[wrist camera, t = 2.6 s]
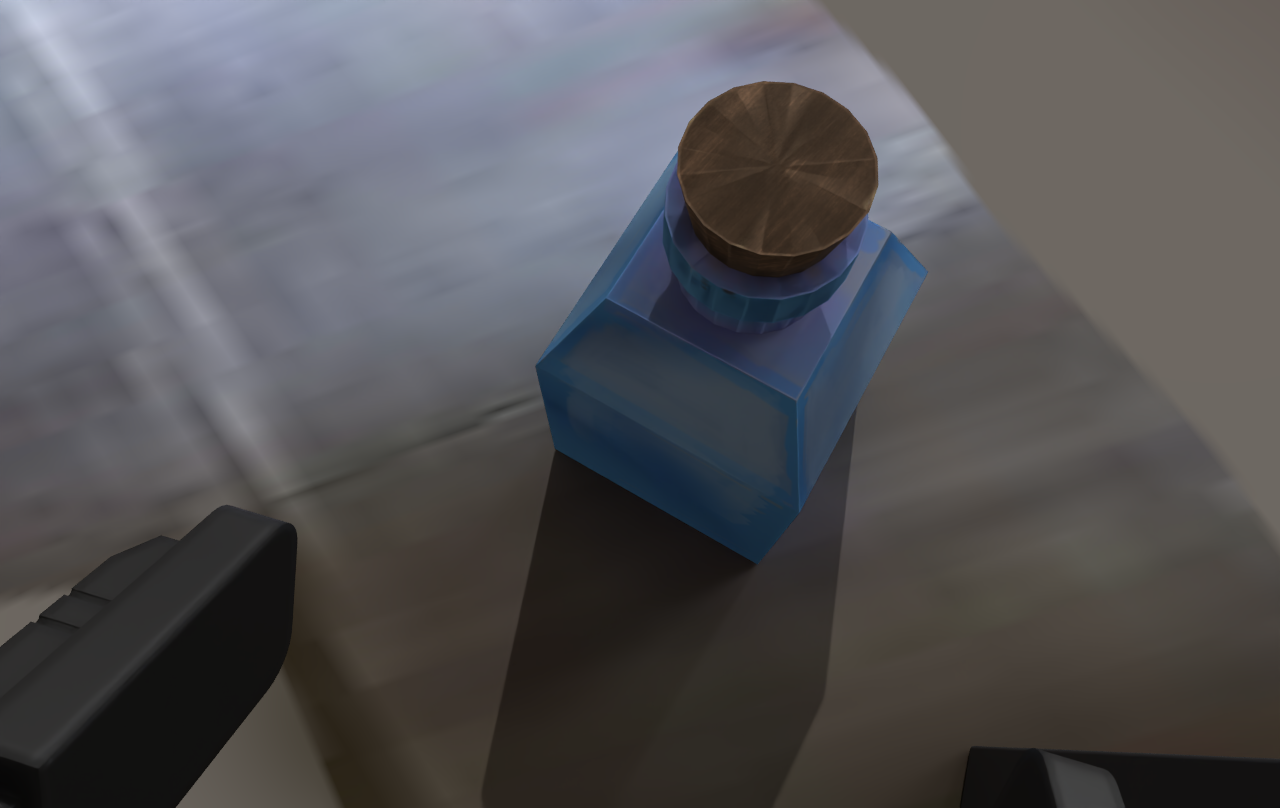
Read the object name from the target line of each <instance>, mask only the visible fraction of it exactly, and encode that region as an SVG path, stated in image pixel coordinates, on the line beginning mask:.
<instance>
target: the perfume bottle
mask: <svg viewBox="0 0 1280 808" xmlns="http://www.w3.org/2000/svg"><path fill="white" fill-rule="evenodd" d="M877 188H878V161H877V156H876V153H875V151H874V148H873V146H872V143H871V141H870V138H869V136H868V133H867V131H866V130H865V129H864V128H863V126H862V125H861V124H860V123H859V122H858V120H857V119H856V118H855V117H854V116H853V115H852V113H851V112H850V111H849V110H848V109H847V108H845V107H844V106H842V105H841V104H839V103H838V102H836V101H835V100H833V99H832V98H830V97H829V96H827V95H826V94H824V93H822V92H819V91H816V90H813V89H810V88H807V87H804V86H801V85H798V84H795V83H784V82H766V81H762V82H758V83H753V84H748V85H744V86H739V87H734V88H732V89H730V90H728V91H727V92H725V93H723V94H721V95H719V96H717V97H716V98H714V99H712V100H710V101H708V102H707V103H706V104H705V105H704V107H703V108H702V109H701V110H700V111H699V112H698V113H697V114H696V115H695V116H694V117H693V118H692V119H691V120H690V121H689V123H688V126H687V128H686V130H685V132H684V135H683V137H682V139H681V142H680V144H679V146H678V151H677V153H676V154H675V156H674V157H673V159H672V160H671V162H670V163H669V165H668V166H667V168H666V170H665V171H664V173H663V174H662V176H661V177H660V179H659V180H658V182H657V183H656V185H655V186H654V188H653V189H652V191H651V192H650V194H649V195H648V197H647V198H646V200H645V201H644V203H643V204H642V206H641V207H640V209H639V210H638V212H637V213H636V215H635V216H634V218H633V219H632V221H631V222H630V224H629V225H628V227H627V228H626V230H625V231H624V233H623V234H622V236H621V237H620V239H619V240H618V242H617V243H616V245H615V246H614V248H613V250H612V251H611V253H610V254H609V256H608V257H607V259H606V260H605V262H604V263H603V265H602V266H601V268H600V269H599V271H598V272H597V274H596V275H595V277H594V278H593V280H592V281H591V283H590V284H589V286H588V287H587V289H586V290H585V292H584V293H583V295H582V296H581V298H580V299H579V301H578V302H577V304H576V305H575V307H574V308H573V310H572V311H571V313H570V314H569V316H568V317H567V319H566V320H565V322H564V323H563V325H562V326H561V328H560V330H559V331H558V333H557V334H556V336H555V337H554V339H553V340H552V342H551V343H550V345H549V346H548V348H547V349H546V351H545V352H544V354H543V355H542V357H541V358H540V360H539V361H538V363H537V364H536V371H537V375H538V379H539V383H540V388H541V392H542V396H543V400H544V404H545V409H546V413H547V417H548V421H549V426H550V430H551V434H552V438H553V442H554V447H555V449H556V450H558V451H560V452H562V453H563V454H565V455H567V456H569V457H570V458H572V459H574V460H576V461H577V462H579V463H581V464H583V465H584V466H586V467H588V468H590V469H591V470H593V471H595V472H597V473H598V474H600V475H602V476H604V477H605V478H607V479H609V480H611V481H612V482H614V483H616V484H618V485H619V486H621V487H623V488H625V489H626V490H628V491H630V492H632V493H633V494H635V495H637V496H639V497H640V498H642V499H644V500H646V501H647V502H649V503H651V504H653V505H654V506H656V507H658V508H660V509H661V510H663V511H665V512H667V513H668V514H670V515H672V516H674V517H675V518H677V519H679V520H681V521H682V522H684V523H686V524H688V525H689V526H691V527H693V528H695V529H696V530H698V531H700V532H702V533H703V534H705V535H707V536H709V537H710V538H712V539H714V540H716V541H717V542H719V543H721V544H723V545H724V546H726V547H728V548H730V549H731V550H733V551H735V552H737V553H738V554H740V555H742V556H744V557H745V558H747V559H749V560H751V561H752V562H754V563H756V564H758V563H759V562H760V561H761V560H762V558H763V557H764V556H765V555H766V554H767V552H768V551H769V550H770V549H771V547H772V546H773V545H774V544H775V542H776V541H777V540H778V539H779V537H780V536H781V535H782V534H783V533H784V531H785V530H786V529H787V528H788V526H789V525H790V524H791V523H792V521H793V520H794V519H795V518H796V517H797V515H798V514H799V513H800V511H801V509H802V507H803V505H804V503H805V501H806V500H807V498H808V496H809V494H810V492H811V490H812V488H813V486H814V485H815V483H816V481H817V479H818V477H819V475H820V473H821V471H822V470H823V468H824V466H825V464H826V462H827V460H828V458H829V457H830V455H831V453H832V451H833V449H834V447H835V445H836V443H837V442H838V440H839V438H840V436H841V434H842V432H843V430H844V428H845V427H846V425H847V423H848V421H849V419H850V417H851V415H852V413H853V412H854V410H855V408H856V406H857V404H858V402H859V400H860V398H861V397H862V395H863V393H864V391H865V389H866V387H867V385H868V384H869V382H870V380H871V378H872V376H873V374H874V372H875V370H876V369H877V367H878V365H879V363H880V361H881V359H882V357H883V355H884V354H885V352H886V350H887V348H888V346H889V344H890V342H891V340H892V339H893V337H894V335H895V333H896V331H897V329H898V327H899V326H900V324H901V322H902V320H903V318H904V316H905V314H906V312H907V311H908V309H909V307H910V305H911V303H912V301H913V299H914V297H915V296H916V294H917V292H918V290H919V288H920V286H921V284H922V282H923V281H924V279H925V277H926V275H927V273H928V271H927V270H926V269H925V268H924V267H923V266H922V265H921V264H920V262H919V261H918V260H917V259H916V258H915V257H914V256H913V255H912V254H911V253H910V252H909V250H908V249H907V248H906V247H905V246H904V245H903V244H902V243H901V242H900V241H899V240H898V238H897V237H896V236H895V235H894V234H893V233H892V232H891V231H889V230H887V229H885V228H883V227H881V226H879V225H877V224H875V223H873V222H871V221H869V220H868V212H869V210H870V208H871V205H872V202H873V199H874V196H875V193H876V190H877Z"/></svg>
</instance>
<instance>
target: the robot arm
mask: <svg viewBox="0 0 1280 808" xmlns="http://www.w3.org/2000/svg"><path fill="white" fill-rule="evenodd" d="M296 555H297V532H296V529H295V527H294V526H293V525H292V524H290V523H287V522H283V521H280V520H277V519H273V518H270V517H267V516H263V515H260V514H257V513H253V512H250V511H247V510H243V509H240V508H237V507H233V506H230V505H224V506H221V507H219V508H217V509H216V510H214V511H213V512H212V513H211V514H210V515H208V516H207V517H206V518H205V519H204V520H203V521H202V522H200V523H199V524H198V525H197V526H196V527H195V528H194V529H192V530H191V531H190V532H189V533H188V534H187V535H186V536H184V537H183V538H182V539H181V540H180V541H178V540H175V539H171V538H168V537H165V536H159V537H156V538H154V539H152V540H149V541H147V542H145V543H142V544H140V545H138V546H135V547H133V548H130V549H128V550H126V551H123V552H121V553H119V554H116V555H114V556H111V557H110V558H109V559H107V560H106V561H105V562H104V563H102V564H101V565H100V566H99V567H98V568H96V569H95V570H94V571H93V572H91V573H90V574H89V575H88V576H86V577H85V578H84V579H83V580H82V581H80V582H79V583H78V584H77V585H75V586H74V587H73V588H72V591H71V593H70V595H69V596H66V595H63V596H62V597H61V598H60V599H58V600H57V601H56V602H55V603H53V604H52V605H51V606H50V607H48V608H47V609H46V610H45V611H44V612H42V613H41V614H40V616H39V619H38V621H37V622H36V623H33V622H30V623H29V624H28V625H26V626H25V627H24V628H23V629H22V630H20V631H19V632H18V633H17V634H15V635H14V636H13V637H12V638H10V639H9V640H8V641H7V642H6V643H4V644H3V645H2V646H1V647H0V808H176V806H177V805H178V804H179V802H180V801H181V800H182V799H183V798H184V796H185V795H186V793H187V792H188V791H189V790H190V789H191V787H192V786H193V785H194V783H195V782H196V781H197V780H198V778H199V777H200V776H201V775H202V773H203V772H204V771H205V769H206V768H207V767H208V766H209V764H210V763H211V762H212V761H213V759H214V758H215V757H216V756H217V754H218V753H219V752H220V750H221V749H222V748H223V747H224V745H225V744H226V742H227V741H228V740H229V739H230V738H231V736H232V735H233V734H234V733H235V731H236V730H237V729H238V727H239V726H240V725H241V724H242V722H243V721H244V720H245V719H246V717H247V716H248V715H249V713H250V712H251V711H252V710H253V708H254V707H255V706H256V705H257V703H258V702H259V701H260V699H261V698H262V697H263V696H264V694H265V693H266V692H267V690H268V689H269V688H270V686H271V685H272V683H273V682H274V680H275V678H276V676H277V675H278V673H279V671H280V669H281V666H282V664H283V662H284V659H285V657H286V654H287V651H288V647H289V644H290V639H291V633H292V621H293V604H294V588H295V572H296ZM992 808H1125V806H1124V803H1123V800H1122V797H1121V794H1120V791H1119V788H1118V785H1117V783H1116V780H1115V779H1114V777H1113V775H1112V774H1111V773H1110V772H1109V771H1107V770H1105V769H1103V768H1099V767H1096V766H1092V765H1089V764H1086V763H1082V762H1079V761H1076V760H1072V759H1069V758H1066V757H1062V756H1059V755H1056V754H1052V753H1049V752H1046V751H1042V750H1039V749H1036V748H1031V749H1028V750H1027V751H1025V752H1024V753H1023V754H1022V755H1021V757H1020V758H1019V760H1018V761H1017V763H1016V765H1015V767H1014V769H1013V770H1012V772H1011V774H1010V776H1009V778H1008V780H1007V781H1006V783H1005V785H1004V787H1003V789H1002V791H1001V792H1000V794H999V796H998V798H997V800H996V802H995V803H994V805H993V807H992Z"/></svg>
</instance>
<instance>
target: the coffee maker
mask: <svg viewBox="0 0 1280 808" xmlns="http://www.w3.org/2000/svg"><path fill="white" fill-rule="evenodd" d="M1028 749H1031V748H1007V747H983V746H972V747H971V749H970V754H969V760H968V766H967V772H966V778H965V784H964V791H963V797H962V803H961V808H992V807H993V805H994V803H995V802H996V800H997V798H998V796H999V794H1000V792H1001V791H1002V789H1003V787H1004V785H1005V783H1006V781H1007V780H1008V778H1009V776H1010V774H1011V772H1012V770H1013V769H1014V767H1015V765H1016V763H1017V761H1018V760H1019V758H1020V757H1021V755H1022V754H1023V753H1024V752H1025V751H1027V750H1028ZM1039 750H1042V751H1046V752H1049V753H1052V754H1056V755H1059V756H1062V757H1066V758H1069V759H1072V760H1076V761H1079V762H1082V763H1086V764H1089V765H1092V766H1096V767H1099V768H1103V769H1105V770H1107V771H1109V772H1110V773H1111V774H1112V775H1113V777H1114V779H1115V780H1116V783H1117V785H1118V788H1119V791H1120V794H1121V797H1122V800H1123V803H1124V806H1125V808H1280V759H1270V758H1246V757H1222V756H1198V755H1175V754H1151V753H1127V752H1103V751H1079V750H1055V749H1039Z"/></svg>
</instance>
